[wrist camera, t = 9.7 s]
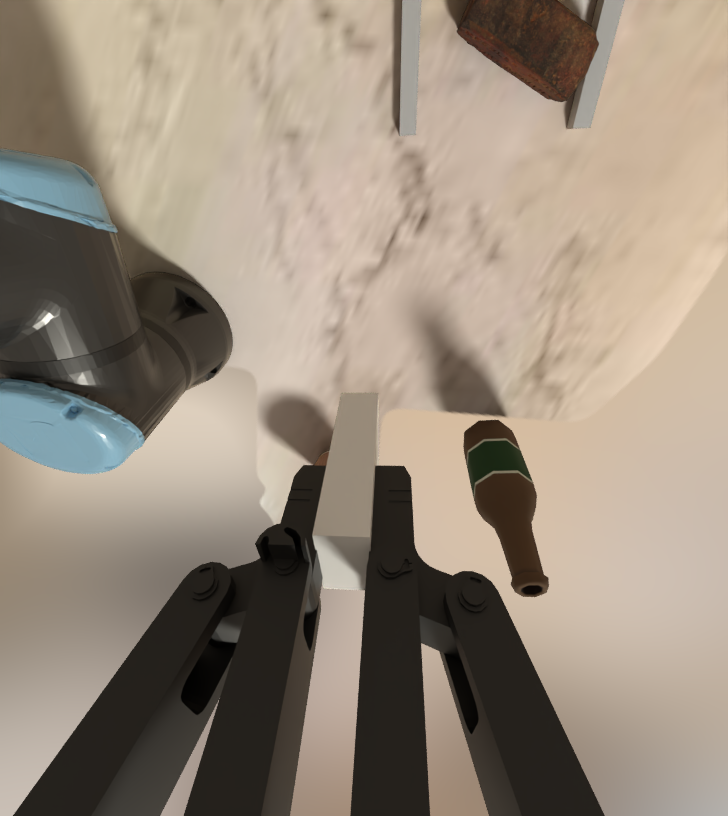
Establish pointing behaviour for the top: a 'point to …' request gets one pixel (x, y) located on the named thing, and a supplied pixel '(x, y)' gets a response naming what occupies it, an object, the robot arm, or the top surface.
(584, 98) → the rails
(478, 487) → the beer bottle
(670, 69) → the top surface
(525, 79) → the brick
